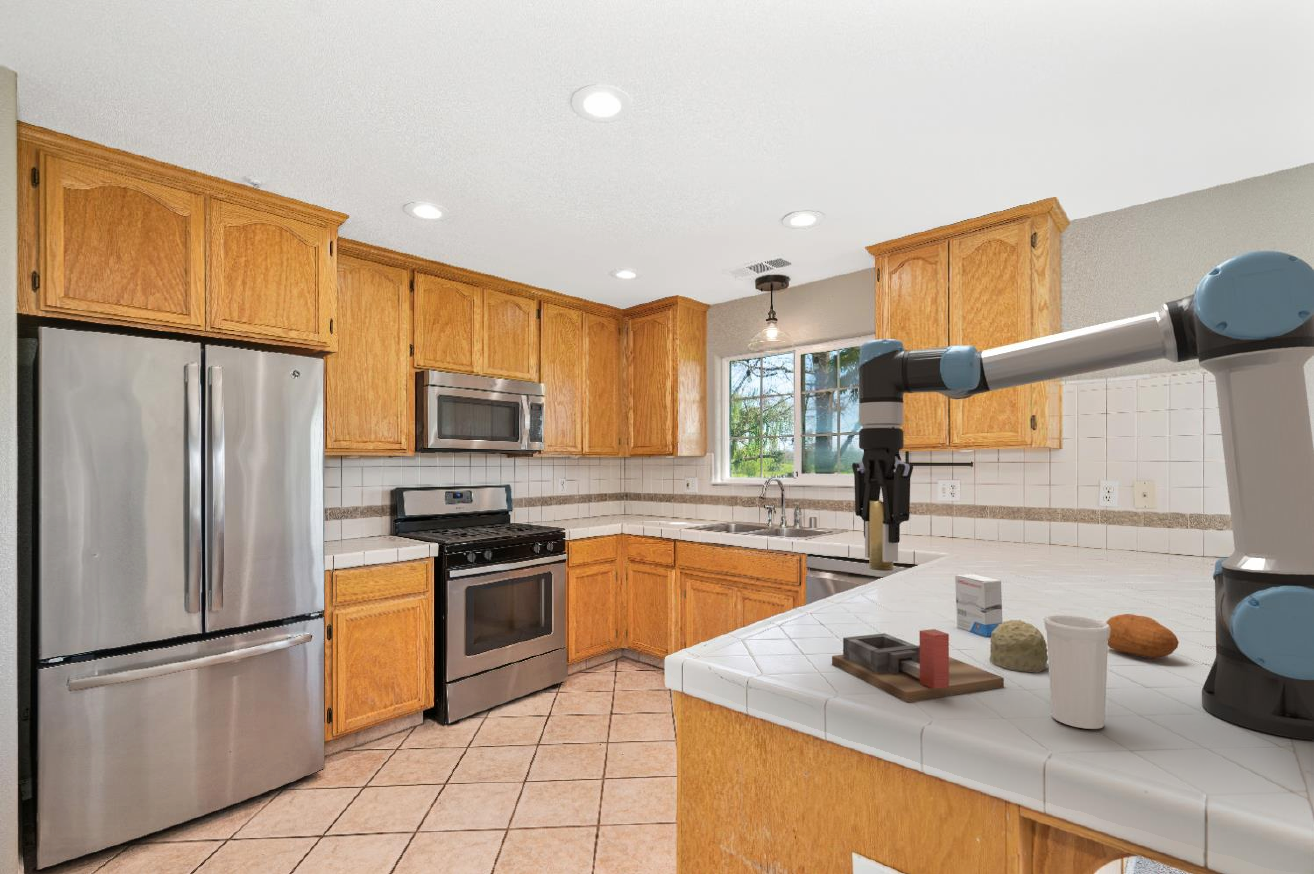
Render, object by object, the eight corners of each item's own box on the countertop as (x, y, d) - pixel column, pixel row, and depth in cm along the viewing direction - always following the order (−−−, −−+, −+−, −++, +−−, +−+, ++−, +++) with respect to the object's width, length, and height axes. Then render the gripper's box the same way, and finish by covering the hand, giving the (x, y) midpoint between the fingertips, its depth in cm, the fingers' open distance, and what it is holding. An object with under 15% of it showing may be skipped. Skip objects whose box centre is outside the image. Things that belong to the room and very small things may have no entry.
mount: (1003, 686, 105) (1003, 656, 105) (906, 702, 98) (906, 669, 98) (919, 653, 123) (919, 627, 123) (832, 664, 116) (832, 636, 116)
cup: (1031, 711, 95) (1030, 614, 95) (1083, 710, 95) (1082, 614, 96) (1070, 735, 87) (1069, 629, 87) (1127, 734, 87) (1125, 628, 88)
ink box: (1004, 635, 135) (1003, 580, 136) (985, 637, 134) (984, 581, 134) (972, 625, 143) (972, 573, 144) (954, 627, 142) (954, 574, 142)
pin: (949, 686, 100) (948, 633, 100) (933, 688, 99) (933, 635, 99) (903, 666, 109) (903, 618, 109) (889, 668, 108) (889, 619, 108)
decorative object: (1040, 695, 111) (1072, 647, 111) (988, 659, 113) (1019, 613, 113) (1018, 681, 120) (1047, 637, 120) (970, 649, 122) (999, 606, 122)
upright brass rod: (898, 570, 112) (898, 501, 112) (879, 571, 110) (879, 501, 111) (882, 566, 115) (882, 500, 116) (864, 567, 114) (864, 500, 114)
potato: (1130, 646, 129) (1130, 608, 129) (1190, 663, 118) (1190, 622, 118) (1095, 649, 126) (1095, 611, 126) (1153, 667, 115) (1153, 626, 116)
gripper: (933, 426, 107) (934, 566, 106) (867, 429, 123) (867, 551, 122) (897, 425, 104) (897, 568, 104) (834, 428, 120) (834, 553, 120)
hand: (881, 558), depth 113 cm, fingers closed on upright brass rod, 4 cm apart
